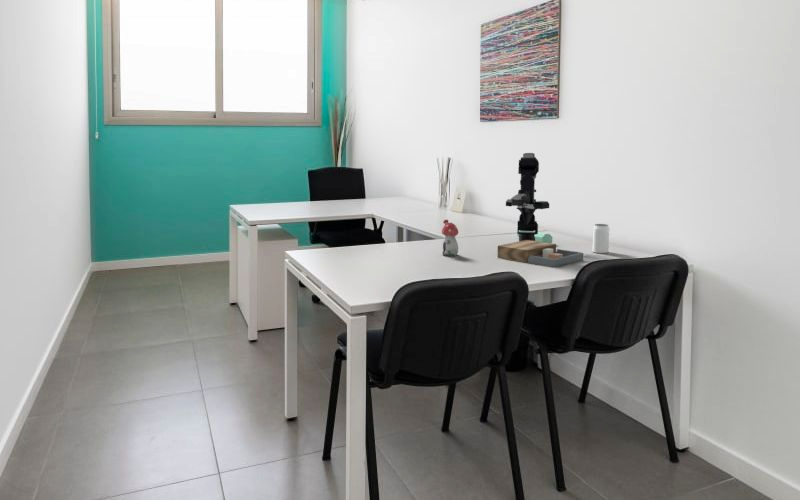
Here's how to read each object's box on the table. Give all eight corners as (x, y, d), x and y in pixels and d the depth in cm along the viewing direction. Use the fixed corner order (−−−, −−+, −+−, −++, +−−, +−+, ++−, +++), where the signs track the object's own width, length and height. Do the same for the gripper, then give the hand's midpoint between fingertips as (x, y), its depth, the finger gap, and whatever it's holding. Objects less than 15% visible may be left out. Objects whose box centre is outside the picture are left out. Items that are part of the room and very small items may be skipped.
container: (517, 225, 304) (544, 231, 281) (526, 229, 306) (554, 235, 283) (512, 236, 304) (539, 243, 281) (522, 240, 306) (550, 247, 283)
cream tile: (542, 249, 247) (548, 250, 246) (548, 248, 250) (553, 248, 248) (542, 259, 248) (547, 259, 246) (547, 257, 251) (553, 258, 249)
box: (527, 262, 244) (527, 255, 243) (556, 255, 257) (556, 248, 256) (554, 267, 234) (554, 259, 234) (582, 260, 247) (583, 252, 247)
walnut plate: (497, 257, 255) (497, 245, 254) (526, 251, 268) (526, 239, 267) (526, 262, 244) (527, 250, 243) (555, 255, 257) (556, 244, 256)
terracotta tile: (556, 255, 242) (556, 261, 243) (562, 254, 245) (562, 260, 245) (548, 254, 245) (548, 260, 246) (554, 252, 248) (554, 258, 248)
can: (609, 253, 260) (610, 226, 257) (593, 253, 261) (594, 225, 259) (607, 251, 266) (608, 223, 264) (591, 250, 267) (592, 223, 265)
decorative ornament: (440, 253, 266) (440, 219, 263) (454, 252, 267) (454, 218, 264) (445, 257, 257) (445, 222, 254) (460, 256, 258) (460, 221, 255)
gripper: (497, 187, 257) (497, 224, 260) (534, 189, 244) (533, 228, 247) (514, 185, 265) (513, 221, 268) (550, 188, 251) (549, 225, 254)
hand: (526, 224), depth 259 cm, fingers closed
